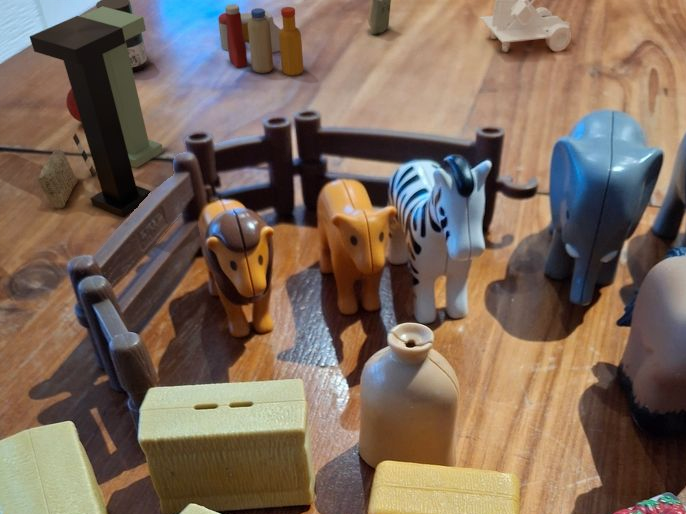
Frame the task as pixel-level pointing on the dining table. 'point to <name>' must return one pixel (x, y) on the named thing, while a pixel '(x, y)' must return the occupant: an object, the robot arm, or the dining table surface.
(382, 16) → the olive upright narrow post
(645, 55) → the dining table surface
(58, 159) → the cuneiform tablet
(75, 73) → the tall stand
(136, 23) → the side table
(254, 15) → the toy food
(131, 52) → the ink bottle
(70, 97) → the onion
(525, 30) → the catapult
